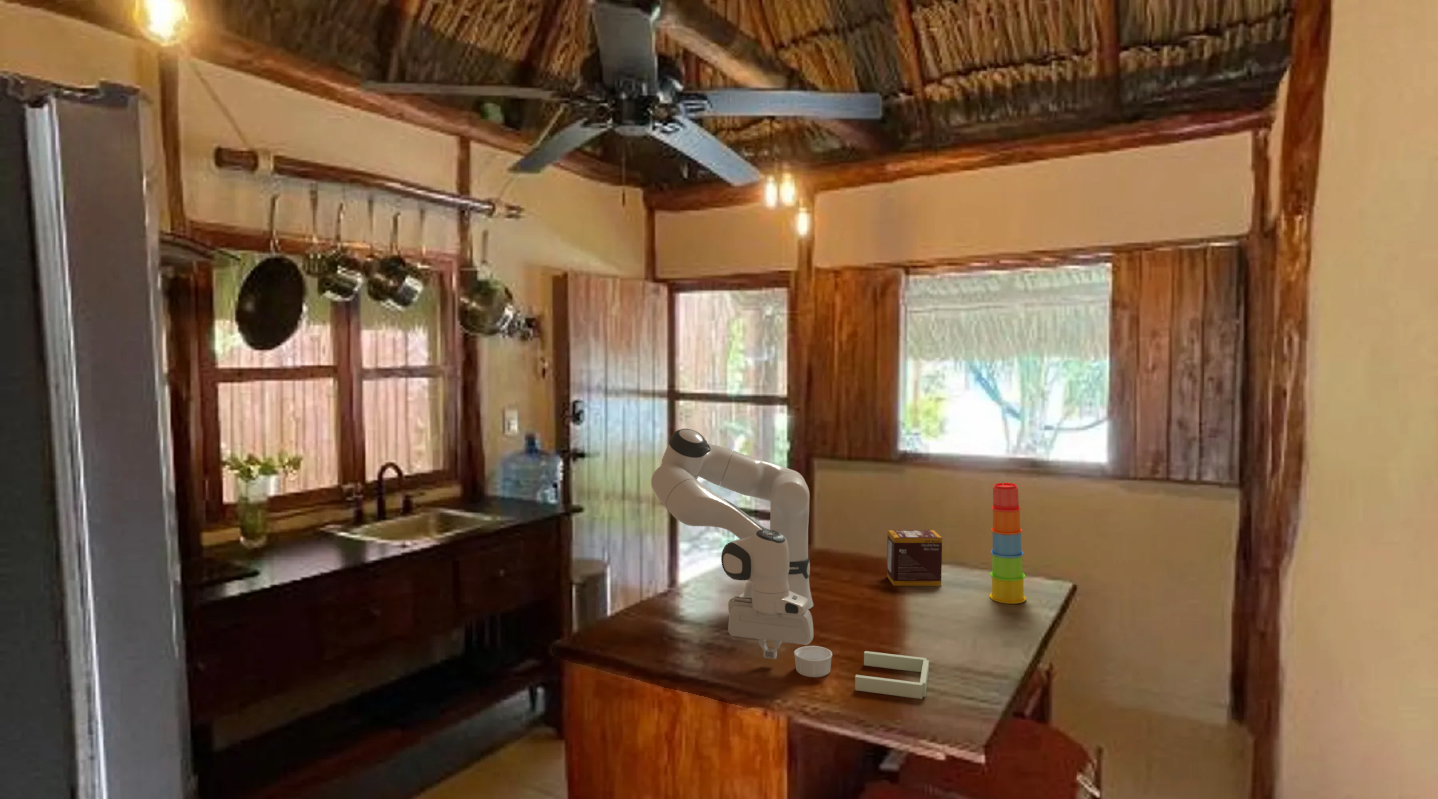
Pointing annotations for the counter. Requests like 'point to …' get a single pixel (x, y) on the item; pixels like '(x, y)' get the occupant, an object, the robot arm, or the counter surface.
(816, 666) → the ramekin
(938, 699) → the counter surface
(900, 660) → the tray frame
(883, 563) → the counter surface
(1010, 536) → the stacking cups
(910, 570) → the supplement box
